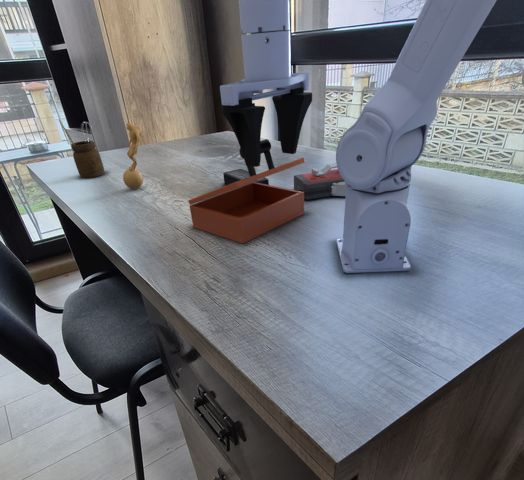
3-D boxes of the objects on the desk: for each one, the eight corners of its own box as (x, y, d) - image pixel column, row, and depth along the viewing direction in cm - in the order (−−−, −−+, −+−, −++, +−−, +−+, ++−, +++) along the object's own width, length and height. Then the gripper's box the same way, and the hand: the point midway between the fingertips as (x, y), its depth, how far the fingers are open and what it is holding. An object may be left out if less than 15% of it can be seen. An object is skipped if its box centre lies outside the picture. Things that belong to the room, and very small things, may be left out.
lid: (304, 162, 59) (296, 128, 57) (237, 187, 51) (224, 149, 49) (253, 181, 68) (244, 152, 66) (189, 205, 60) (177, 173, 58)
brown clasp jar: (107, 175, 92) (89, 117, 84) (79, 180, 90) (59, 121, 83) (103, 170, 96) (87, 114, 89) (77, 174, 94) (58, 118, 87)
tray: (304, 213, 64) (304, 191, 61) (242, 243, 56) (240, 220, 54) (254, 201, 70) (252, 181, 68) (193, 227, 62) (189, 205, 60)
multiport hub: (242, 179, 82) (241, 168, 80) (270, 191, 74) (269, 178, 73) (223, 184, 80) (222, 172, 78) (250, 196, 72) (249, 183, 71)
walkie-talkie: (302, 205, 67) (406, 189, 70) (302, 179, 64) (410, 162, 67) (286, 191, 73) (382, 176, 77) (286, 166, 70) (385, 152, 74)
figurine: (123, 185, 84) (105, 122, 76) (150, 180, 86) (136, 118, 78) (129, 195, 78) (110, 128, 70) (158, 190, 80) (143, 123, 72)
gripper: (280, 32, 51) (283, 145, 60) (196, 38, 43) (213, 167, 52) (323, 28, 47) (320, 149, 56) (239, 34, 39) (251, 174, 48)
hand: (271, 159), depth 54 cm, fingers open, 7 cm apart
